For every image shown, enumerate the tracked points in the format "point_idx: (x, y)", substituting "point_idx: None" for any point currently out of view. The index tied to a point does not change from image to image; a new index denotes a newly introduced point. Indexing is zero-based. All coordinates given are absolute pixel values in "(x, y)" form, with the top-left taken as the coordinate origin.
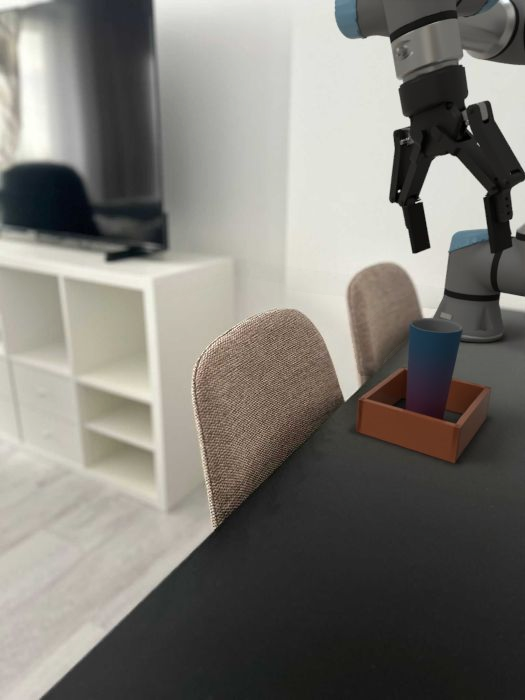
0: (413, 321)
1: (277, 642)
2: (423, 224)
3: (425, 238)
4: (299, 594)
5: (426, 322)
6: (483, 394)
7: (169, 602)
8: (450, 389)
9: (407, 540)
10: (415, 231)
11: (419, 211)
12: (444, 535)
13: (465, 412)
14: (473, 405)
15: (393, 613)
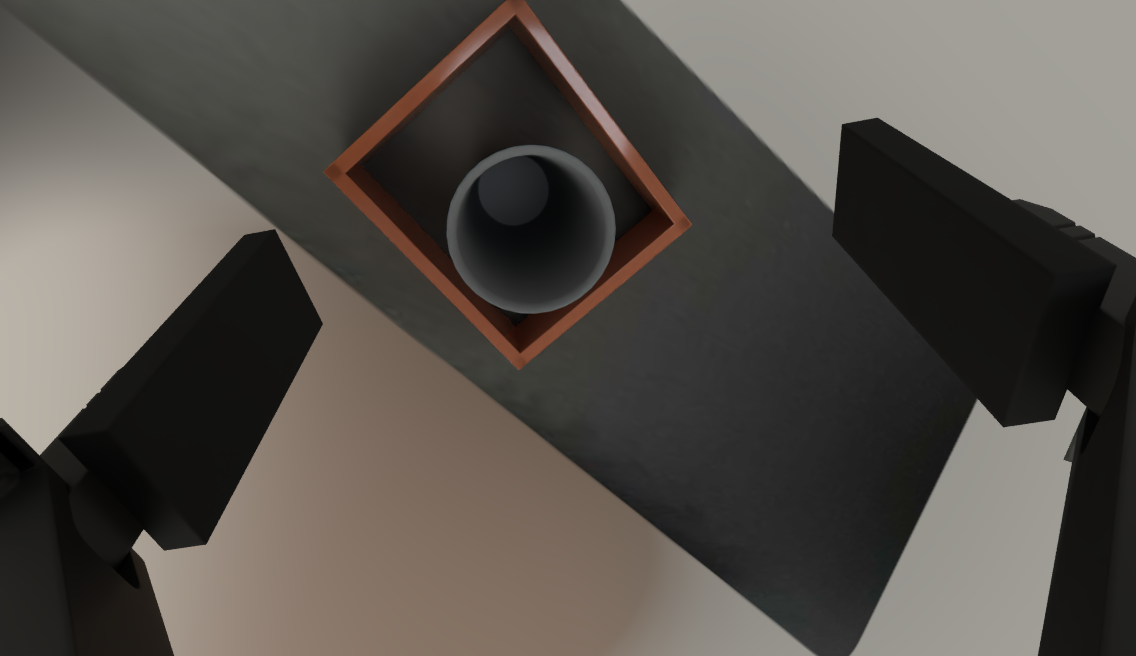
0: (474, 282)
1: (867, 537)
2: (219, 336)
3: (263, 287)
4: (828, 511)
5: (457, 222)
6: (556, 52)
7: (792, 614)
8: (448, 80)
9: (803, 377)
10: (270, 381)
11: (180, 418)
12: (812, 328)
13: (634, 168)
14: (607, 125)
15: (883, 435)
